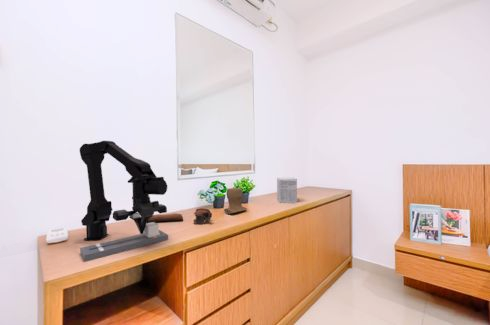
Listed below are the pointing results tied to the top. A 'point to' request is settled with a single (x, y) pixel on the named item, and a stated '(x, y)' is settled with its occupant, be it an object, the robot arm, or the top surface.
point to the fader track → (119, 245)
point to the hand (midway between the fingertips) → (141, 233)
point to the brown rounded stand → (234, 201)
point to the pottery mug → (202, 216)
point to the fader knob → (151, 230)
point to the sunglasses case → (165, 218)
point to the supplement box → (287, 190)
